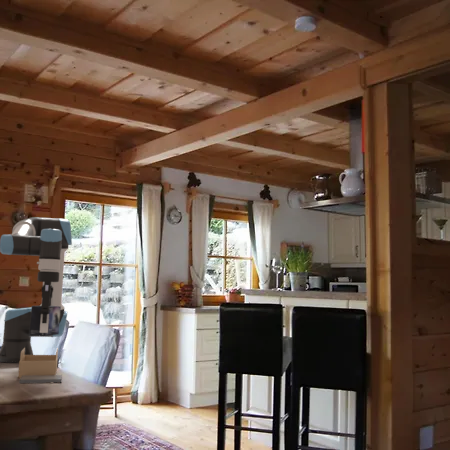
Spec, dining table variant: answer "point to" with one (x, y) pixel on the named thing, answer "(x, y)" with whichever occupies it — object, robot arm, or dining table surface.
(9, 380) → the dining table surface
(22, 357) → the carton
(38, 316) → the small box
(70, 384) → the dining table surface
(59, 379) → the board
